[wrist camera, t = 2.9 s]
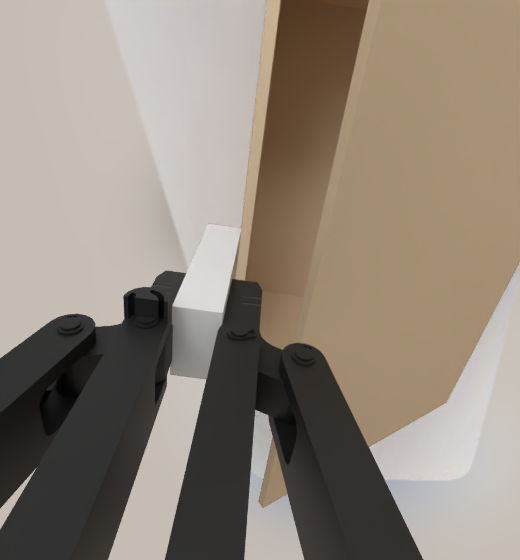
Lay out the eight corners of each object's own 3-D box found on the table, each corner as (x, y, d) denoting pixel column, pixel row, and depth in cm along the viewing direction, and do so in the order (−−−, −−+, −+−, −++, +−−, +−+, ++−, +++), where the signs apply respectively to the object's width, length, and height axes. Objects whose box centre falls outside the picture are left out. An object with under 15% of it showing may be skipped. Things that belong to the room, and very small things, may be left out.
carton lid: (401, -146, 8) (416, -151, 8) (644, 1, 17) (655, 1, 16) (258, 501, 20) (262, 507, 20) (441, 398, 29) (446, 402, 28)
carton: (275, -15, 26) (273, -56, 16) (509, 22, 26) (640, 2, 17) (238, 290, 38) (225, 368, 28) (400, 311, 38) (440, 396, 29)
